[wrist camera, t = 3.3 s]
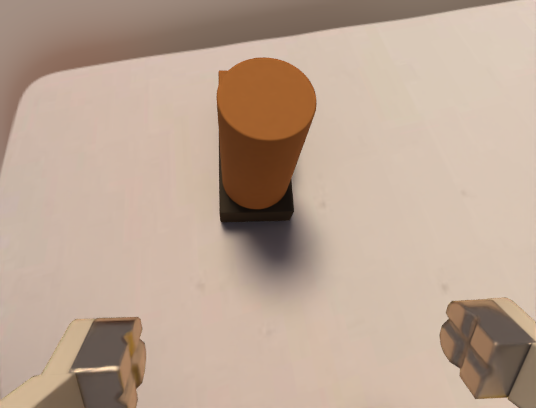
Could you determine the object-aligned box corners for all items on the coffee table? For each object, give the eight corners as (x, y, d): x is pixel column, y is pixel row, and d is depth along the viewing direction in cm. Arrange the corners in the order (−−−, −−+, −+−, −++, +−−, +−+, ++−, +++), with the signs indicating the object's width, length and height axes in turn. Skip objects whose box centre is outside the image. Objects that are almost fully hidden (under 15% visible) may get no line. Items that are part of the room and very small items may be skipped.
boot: (220, 222, 25) (212, 144, 15) (219, 104, 29) (212, -24, 19) (289, 220, 26) (327, 144, 16) (280, 105, 29) (306, -20, 19)
